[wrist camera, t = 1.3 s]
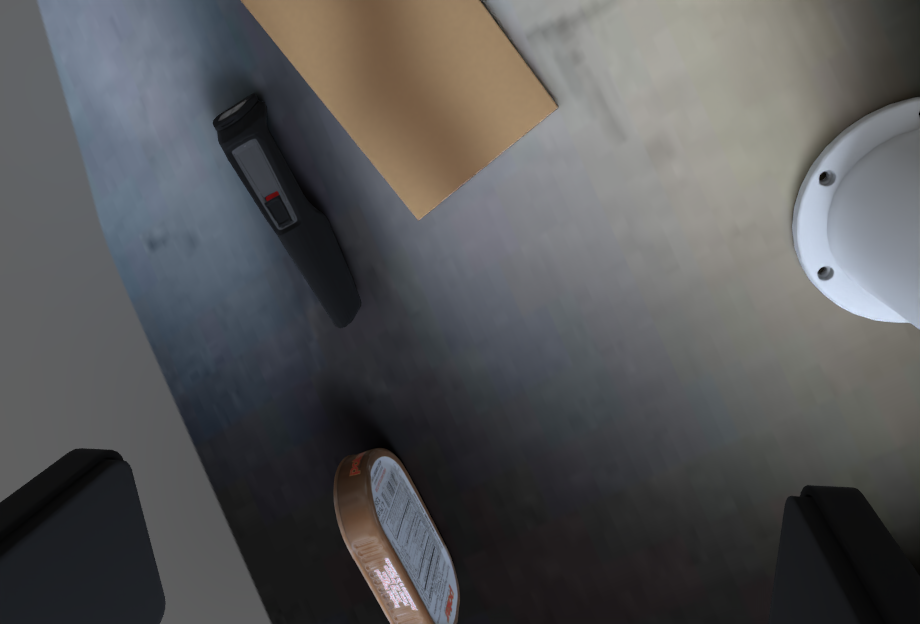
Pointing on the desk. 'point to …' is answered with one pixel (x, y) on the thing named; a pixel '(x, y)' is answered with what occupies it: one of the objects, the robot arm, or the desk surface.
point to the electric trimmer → (287, 207)
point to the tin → (395, 540)
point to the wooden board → (412, 84)
